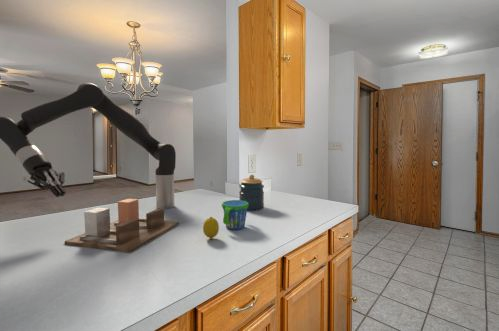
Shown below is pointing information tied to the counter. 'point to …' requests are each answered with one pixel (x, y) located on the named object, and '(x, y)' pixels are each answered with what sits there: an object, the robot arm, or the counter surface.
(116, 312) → the counter surface
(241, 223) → the snack cup
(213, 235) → the lemon
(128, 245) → the board
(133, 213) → the terracotta slider
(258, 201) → the canister
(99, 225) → the steel slider
